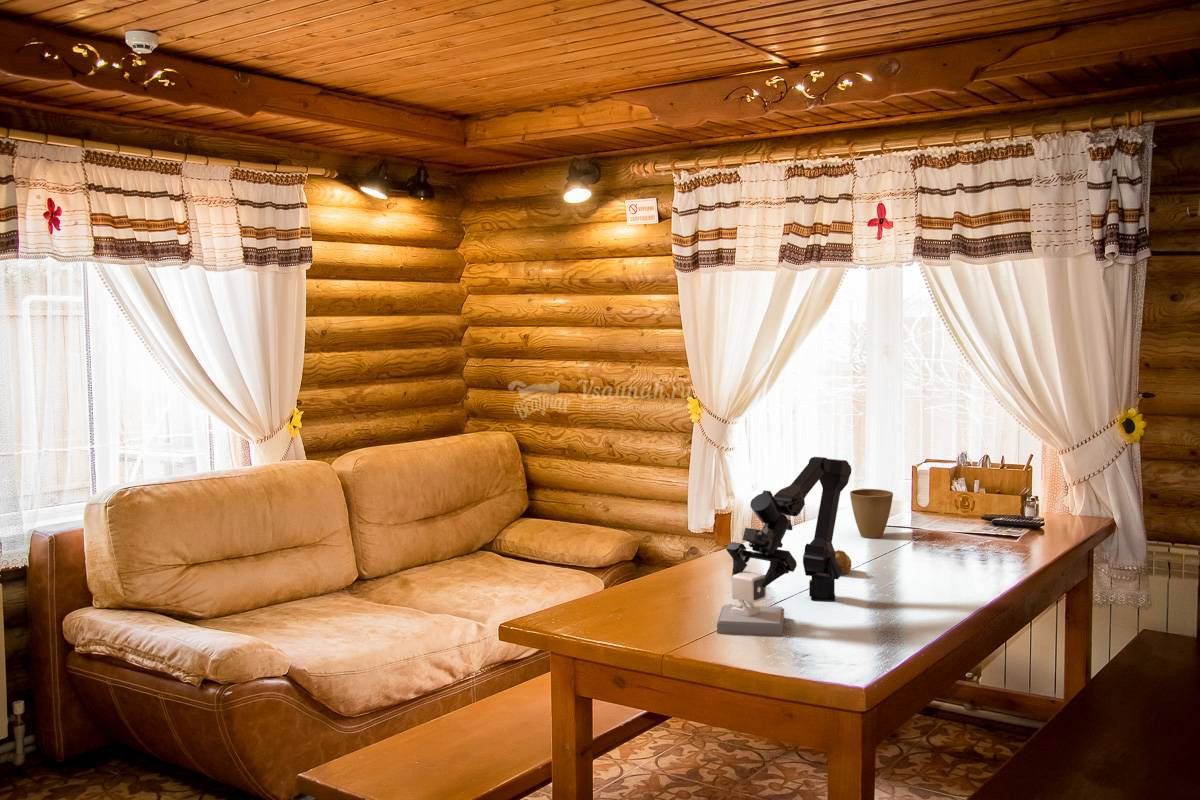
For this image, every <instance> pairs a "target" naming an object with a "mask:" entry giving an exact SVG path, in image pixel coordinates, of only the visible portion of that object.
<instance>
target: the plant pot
mask: <svg viewBox="0 0 1200 800" xmlns="http://www.w3.org/2000/svg"><path fill="white" fill-rule="evenodd" d="M849 496H850V502H851V508H852V513H853V516H854V520H855V524H856V527H857V530H858V532H859V535H860V537H862V538H864V539H881V538H882V537H883V535H884V532H885V530H886V528H887V525H888V521H889V517H890V514H891V508H892V505H893V504H892V502H893V499H894V498H893V496H894V492H893V491H890V490H886V489H880V488H879V489H878V488H876V489H875V488H860V489H852V490H850V491H849Z"/></svg>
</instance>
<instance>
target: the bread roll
mask: <svg viewBox="0 0 1200 800" xmlns="http://www.w3.org/2000/svg"><path fill="white" fill-rule="evenodd" d="M835 553H836V557H835V561H836V562H837V564H838V565H839V567H840V568H841V576H842V575H846V574H848V572H850V571H851V569H852V559H851V558H850V556H849V555H848V554H847V553H846V552H845V551H843V550H841V549H840V550H839V549H838V550H835Z"/></svg>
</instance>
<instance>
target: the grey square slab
mask: <svg viewBox="0 0 1200 800" xmlns="http://www.w3.org/2000/svg"><path fill="white" fill-rule="evenodd" d="M735 606H737V607H738V605H737V604H724V605H722V608H721V611H720V613H719V615H718V619H717V621H716V633H717V634H727V633H729V634H730V635H731V634H732V635H734V634H735V635H752V636H753V635H756V636H778V637H780V636H781V637H782V636H783V630H784V622H785V621H784V620H785V608H784V607H782V606H770V605H769V606H764V605H756V606H757V607H760V612H759V613H756V614H754V615H751V616H743V615H739V614H734V613H731V608H732V607H735Z"/></svg>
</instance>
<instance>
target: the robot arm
mask: <svg viewBox="0 0 1200 800" xmlns="http://www.w3.org/2000/svg"><path fill="white" fill-rule="evenodd" d="M851 474H852V466H851V465H850V463H849V462H848V461H847V460H846V459H845V460H844V459H833V458H828V457H823V456H813V457H810V458H809V460H808V463H807V465H806V466H805V467H804V468H803V469H802V470H801V472H800V473H799V474H798V475H797V477H796V478H795V479H794V481H792V483H791V484H790V485H788V486H785V487H783V488H781V489H780V490H778V491H777V492H776V493H775V494H773V493H772V492H771V490H765V489H764V490H763V491H762V493H759V494H757V495H755V496H754V497H753V498H752V499H751V501H750V504H749V505H750V508H751V509H752V511H753V513H754V514H755V515H756V517H757V518H758V519H759V521H760V522H761V523H763V524H764V525H763V527H762V529H757V528H749V527H745V528H744V530H743V536H742V541H746V542H748V546H749V547H750V548H752V550H751V549H748V548H747V547H746V546H745V543H740V542H736V541H735V542H734V541H732V542H729V543H728V545H727V547H726V549H725V550H726V551H727V553H728V554H729V555H730V556H731V558H732V573H731V577H732V576H733V575H735V574H738V573H741V572H744V571H745V569H747V566H748V564H747V563H748V562H749V561H750V559H755V560H762V561H765V562H766V561H767V562H769V567H768V569H767V571H766V574H764V575H765V577H764V579H763V582H762V585H761V586H762V587H763V588H765V587H766V588H767V586H769V585H770V584H771V583H773V582H774V581H776V580H777V579H778V578H780V577H782V576H784V575H786V574H789V573H790V572H792V573H793V572H794V571H795V569H796V567H797V566H798V565H797V564H798V563H797V560H796V559H795V557H794V556H793V555H792V553H791V552H790V551H789V550H786V549H785V550H784V549H781V548H782V547H783V543H782V541H783V538H784V536H785V534H786V533H787V531H793V525H792V521H791V519H788V517H798V516H799V515H800V514H801V512H802V510H803V508H804V507H805V505H806V503H805V498H806V497H807V495H808V494H809V493H810V491H812V489H813V488H814V486H815V485H816V484H817V483H818V482H819V483H820V485H821V488H822V489H821V490H822V491H821V497H820V503H819V508H818V513H817V518H816V519H817V521H816V525H815V532H814V537H813V539H812V540H811V541H810V543H806V544H805V546H804V552H803V555H802V564H803V569H804V573H805V576H809V577H811V579H809V583H808V584H809V585H808V587H809V597H810V599H811V601H824V602H827V601H828V602H835V601H836V595H835V593H836V591H835V589H836V588H835V587H836V586H835V585H836V584H835V582H836V581H835V580H838V579H840V578H841V577H842V575H841V568H840V567H839V565H838V564H837V562H836V561H835V557H836V553H835V551H836V550H835V547H834V545H833V537H834V531H835V526H836V520H837V515H838V514H837V513H838V507H839V503H840V497H841V493H842V491H843V490H844V489H845V488H846V486H847V485H848V484H849V481H850V478H851ZM787 516H788V517H787ZM779 548H780V549H779Z"/></svg>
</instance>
